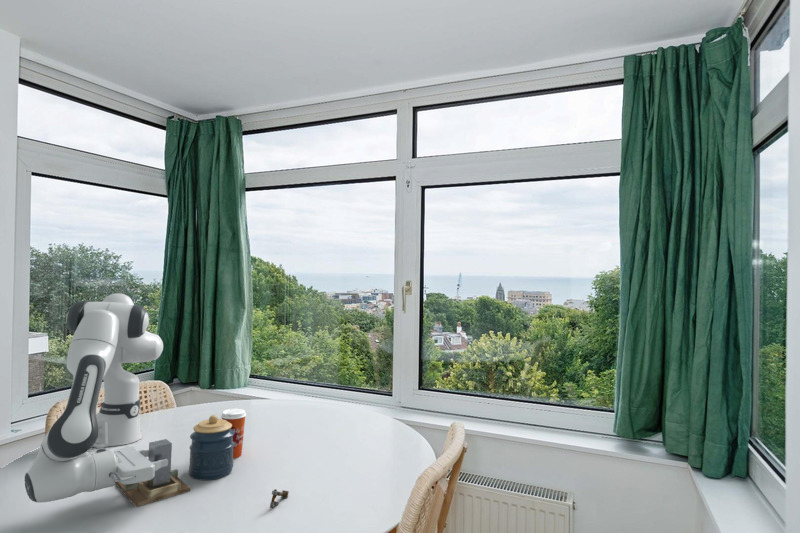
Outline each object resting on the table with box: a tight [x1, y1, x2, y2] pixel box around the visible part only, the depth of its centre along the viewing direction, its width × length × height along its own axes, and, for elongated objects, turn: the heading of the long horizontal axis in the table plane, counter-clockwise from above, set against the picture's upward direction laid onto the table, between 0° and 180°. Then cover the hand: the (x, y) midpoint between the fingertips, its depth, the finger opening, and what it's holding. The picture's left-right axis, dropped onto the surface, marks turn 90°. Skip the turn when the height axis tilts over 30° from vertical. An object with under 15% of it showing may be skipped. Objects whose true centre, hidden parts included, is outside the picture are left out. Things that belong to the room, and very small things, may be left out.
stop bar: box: [147, 438, 173, 490], centre depth 133 cm, size 4×4×13 cm
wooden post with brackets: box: [269, 488, 290, 509], centre depth 129 cm, size 2×8×4 cm, turn 166°
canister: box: [188, 414, 235, 481], centre depth 148 cm, size 13×13×18 cm
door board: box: [115, 468, 191, 507], centre depth 137 cm, size 14×20×3 cm
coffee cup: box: [220, 408, 247, 460], centre depth 162 cm, size 8×8×15 cm
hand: (161, 456), depth 133 cm, fingers open, 8 cm apart
